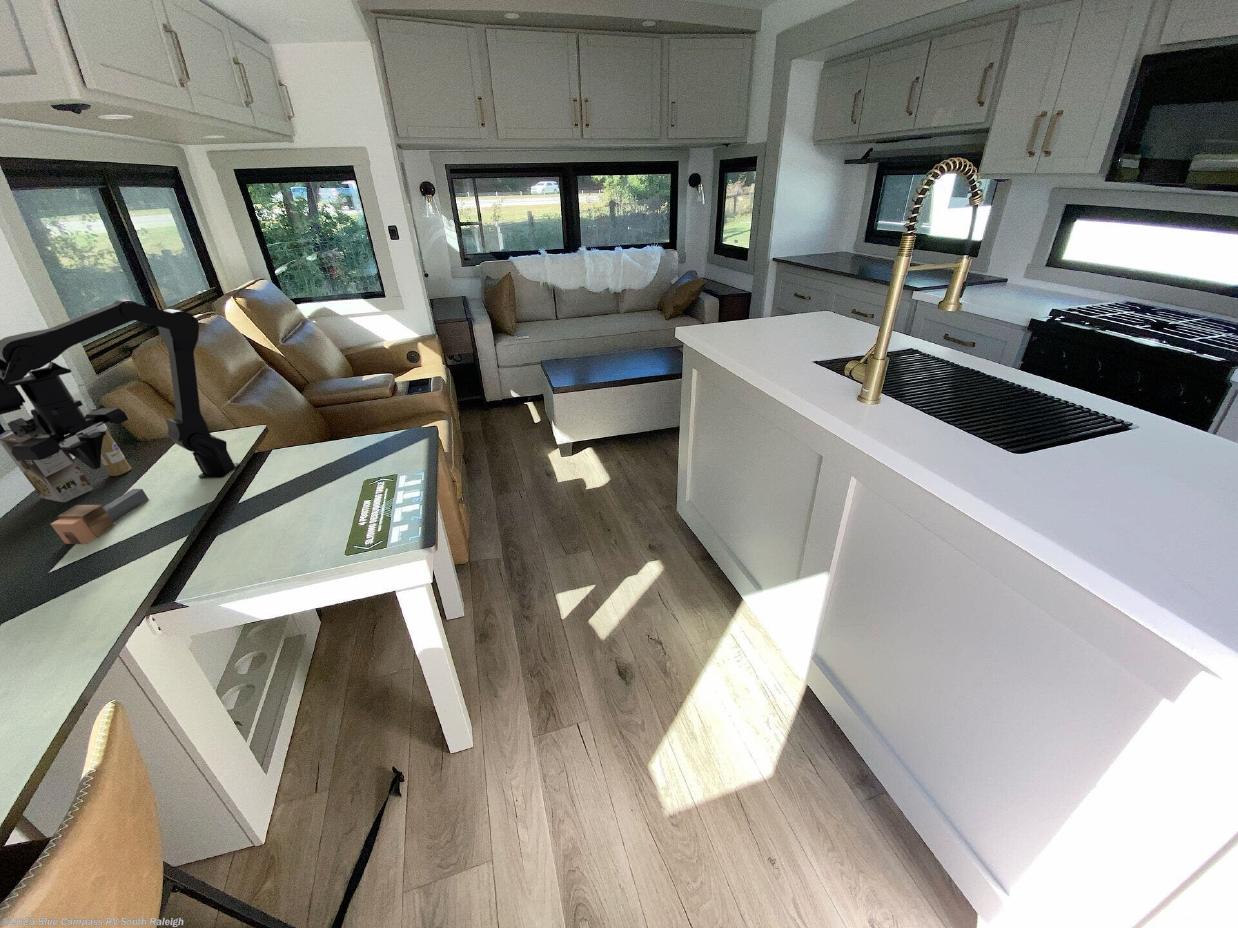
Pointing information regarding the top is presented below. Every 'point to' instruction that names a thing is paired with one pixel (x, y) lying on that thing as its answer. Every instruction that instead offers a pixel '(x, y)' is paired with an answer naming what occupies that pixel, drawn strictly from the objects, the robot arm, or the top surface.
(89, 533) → the pink notched end block
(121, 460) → the sprinkles bottle
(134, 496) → the rail
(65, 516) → the block
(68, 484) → the coffee box
